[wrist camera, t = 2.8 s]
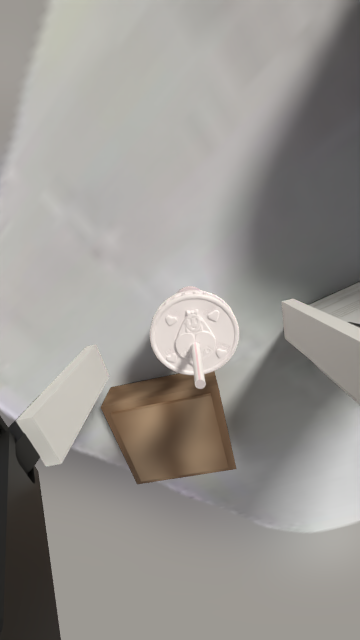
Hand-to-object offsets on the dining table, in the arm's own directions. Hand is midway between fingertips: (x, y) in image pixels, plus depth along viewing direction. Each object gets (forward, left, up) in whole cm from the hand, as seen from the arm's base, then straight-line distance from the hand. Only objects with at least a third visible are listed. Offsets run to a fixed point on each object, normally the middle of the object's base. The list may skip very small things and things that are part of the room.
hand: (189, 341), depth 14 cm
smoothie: (0, 0, -10) cm, 10 cm away
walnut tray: (+6, +16, -10) cm, 19 cm away
